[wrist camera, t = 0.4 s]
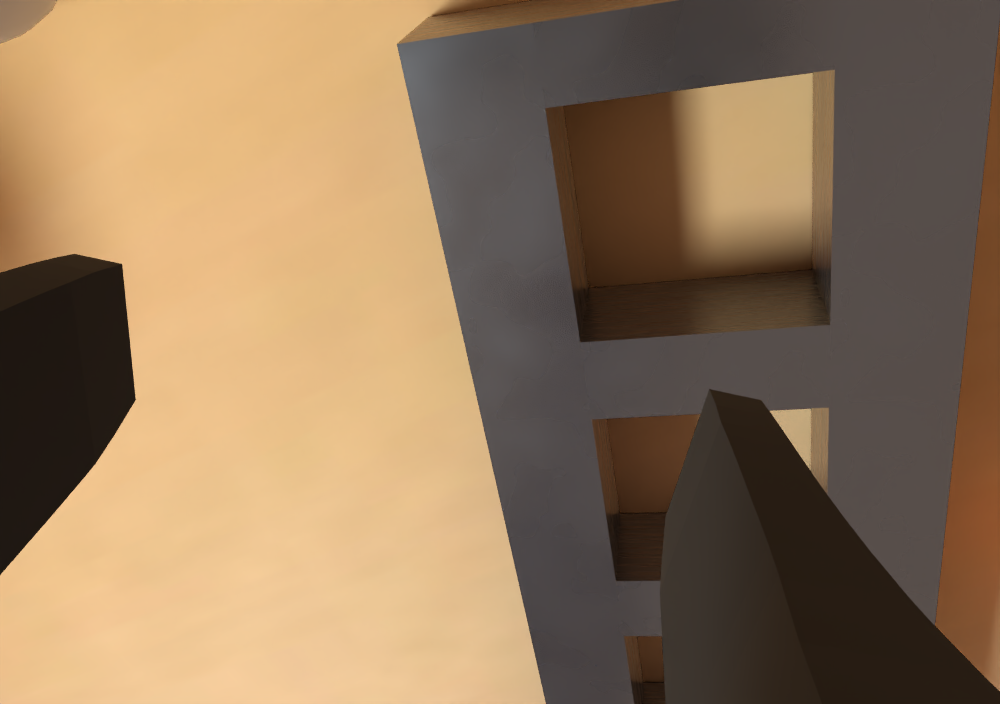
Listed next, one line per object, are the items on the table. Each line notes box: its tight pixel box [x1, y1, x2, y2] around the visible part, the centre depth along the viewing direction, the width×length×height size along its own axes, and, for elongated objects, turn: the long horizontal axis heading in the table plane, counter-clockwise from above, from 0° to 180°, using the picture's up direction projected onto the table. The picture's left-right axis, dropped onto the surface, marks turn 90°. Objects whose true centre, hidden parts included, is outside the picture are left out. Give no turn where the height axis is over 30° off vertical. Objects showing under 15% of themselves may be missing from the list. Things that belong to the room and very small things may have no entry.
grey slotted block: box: [397, 0, 1000, 704], centre depth 21 cm, size 22×10×2 cm, turn 10°
